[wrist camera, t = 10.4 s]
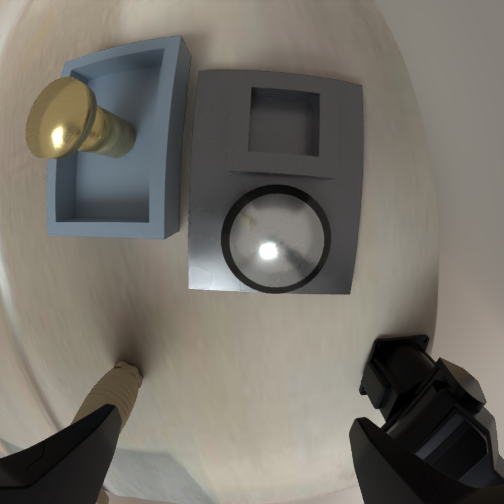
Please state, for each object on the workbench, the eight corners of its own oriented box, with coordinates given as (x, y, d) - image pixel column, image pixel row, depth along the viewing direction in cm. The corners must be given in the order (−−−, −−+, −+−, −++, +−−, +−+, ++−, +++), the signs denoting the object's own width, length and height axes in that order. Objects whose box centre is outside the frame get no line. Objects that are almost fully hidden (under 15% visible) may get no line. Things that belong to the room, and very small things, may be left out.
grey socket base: (356, 90, 17) (374, 74, 14) (345, 289, 21) (361, 306, 17) (201, 77, 17) (192, 56, 14) (192, 283, 21) (181, 301, 17)
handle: (94, 353, 22) (13, 455, 8) (147, 350, 22) (73, 483, 7) (113, 390, 23) (54, 494, 9) (165, 390, 23) (118, 518, 8)
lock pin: (147, 108, 17) (92, 67, 9) (142, 165, 18) (78, 152, 10) (98, 116, 17) (33, 88, 9) (93, 169, 18) (21, 163, 10)
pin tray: (191, 57, 17) (181, 35, 13) (179, 231, 20) (164, 239, 16) (86, 75, 17) (65, 62, 13) (73, 228, 20) (47, 235, 16)
